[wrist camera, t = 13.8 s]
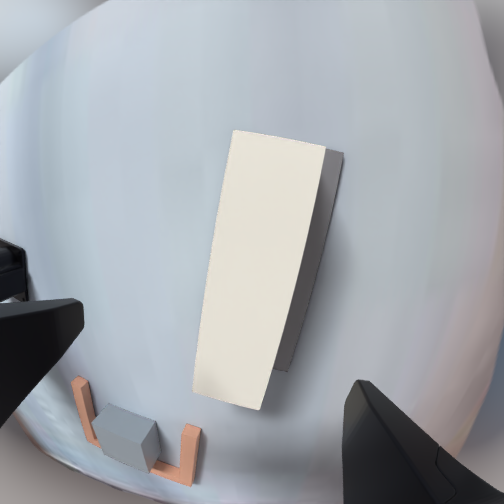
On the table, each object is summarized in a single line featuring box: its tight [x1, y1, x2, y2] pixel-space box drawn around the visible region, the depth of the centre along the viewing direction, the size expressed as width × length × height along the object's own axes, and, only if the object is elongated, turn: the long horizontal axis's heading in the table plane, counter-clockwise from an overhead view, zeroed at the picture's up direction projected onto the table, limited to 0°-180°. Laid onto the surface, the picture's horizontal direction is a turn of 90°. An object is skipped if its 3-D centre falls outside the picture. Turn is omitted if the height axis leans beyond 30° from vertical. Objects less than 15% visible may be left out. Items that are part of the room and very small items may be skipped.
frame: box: [71, 376, 201, 487], centre depth 25 cm, size 15×12×2 cm
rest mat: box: [272, 149, 344, 372], centre depth 19 cm, size 7×16×1 cm, turn 169°
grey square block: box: [92, 403, 161, 473], centre depth 24 cm, size 6×6×4 cm
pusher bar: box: [192, 130, 326, 410], centre depth 16 cm, size 4×14×6 cm, turn 169°
